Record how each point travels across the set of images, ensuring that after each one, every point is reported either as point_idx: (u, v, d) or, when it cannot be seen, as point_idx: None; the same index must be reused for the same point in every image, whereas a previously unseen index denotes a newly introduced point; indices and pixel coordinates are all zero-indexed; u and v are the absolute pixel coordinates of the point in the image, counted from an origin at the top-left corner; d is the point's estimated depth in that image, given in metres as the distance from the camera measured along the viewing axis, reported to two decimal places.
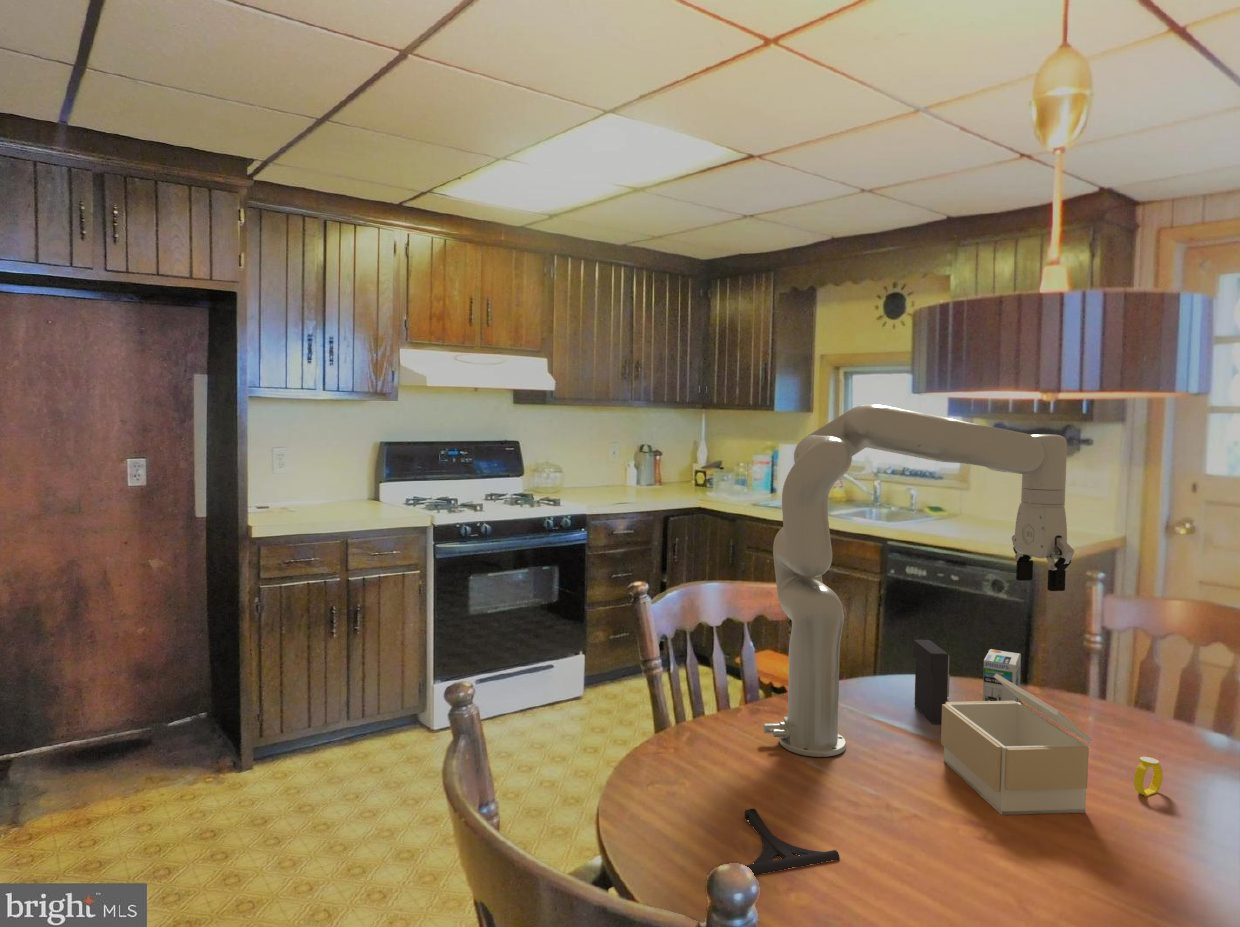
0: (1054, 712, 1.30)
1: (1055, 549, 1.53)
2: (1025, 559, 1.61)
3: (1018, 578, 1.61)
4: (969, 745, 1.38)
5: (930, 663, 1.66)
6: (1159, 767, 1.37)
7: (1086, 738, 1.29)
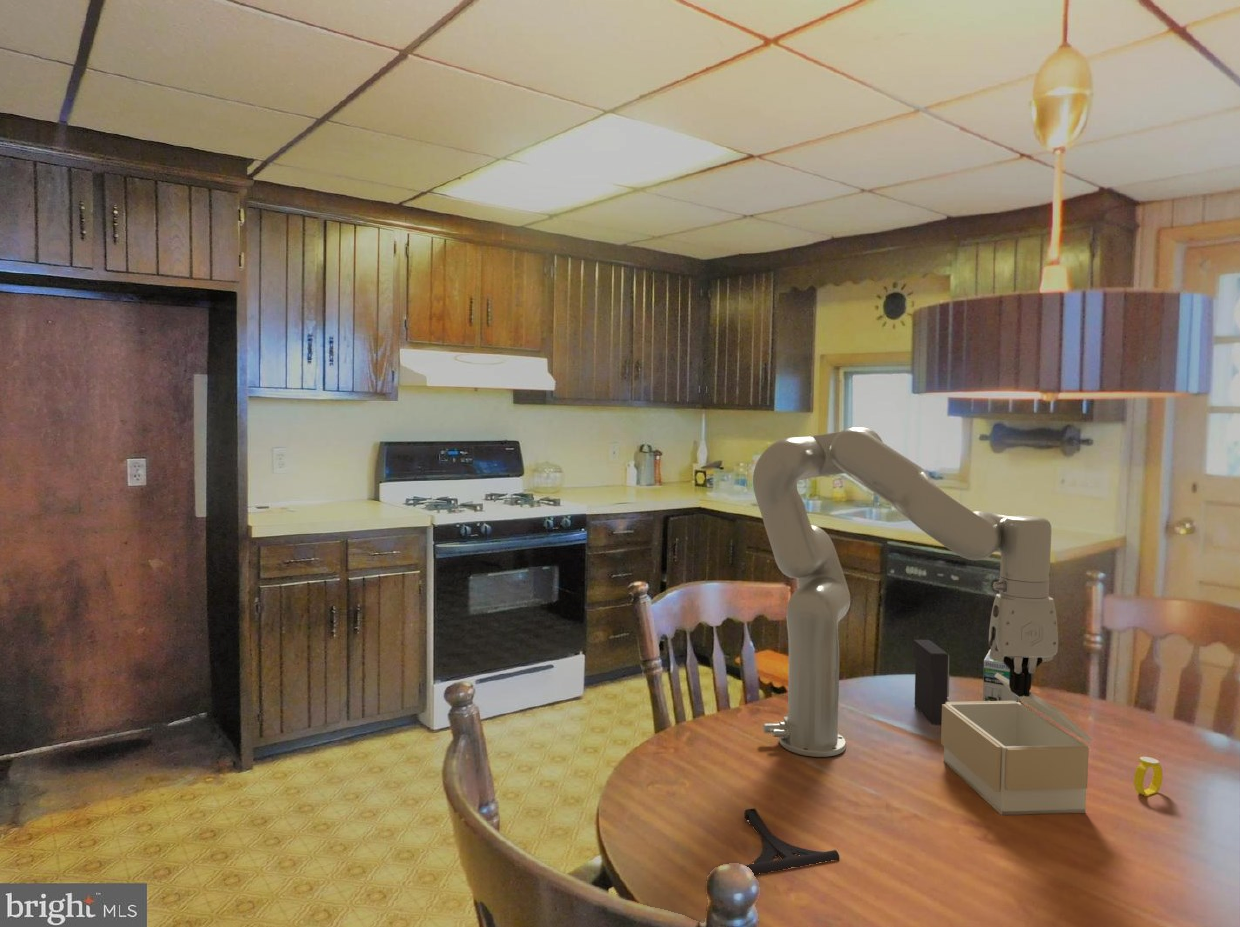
0: (1055, 711, 1.30)
1: None
2: None
3: (1023, 694, 1.37)
4: (969, 745, 1.38)
5: (930, 663, 1.66)
6: (1159, 767, 1.37)
7: (1086, 738, 1.29)
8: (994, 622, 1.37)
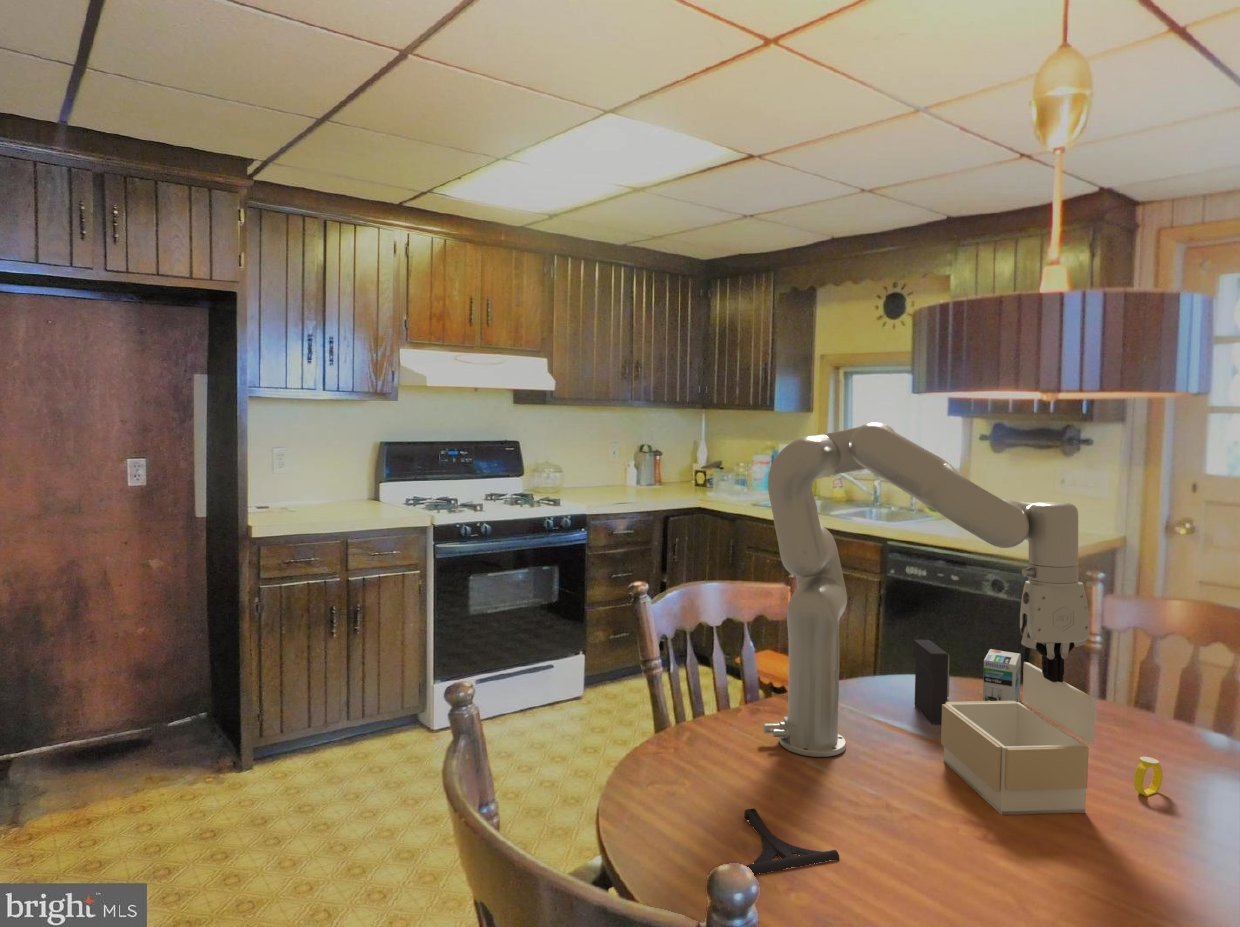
0: (1089, 697, 1.30)
1: None
2: None
3: (1056, 679, 1.37)
4: (969, 745, 1.38)
5: (930, 663, 1.66)
6: (1159, 767, 1.37)
7: (1091, 738, 1.30)
8: (1025, 609, 1.38)
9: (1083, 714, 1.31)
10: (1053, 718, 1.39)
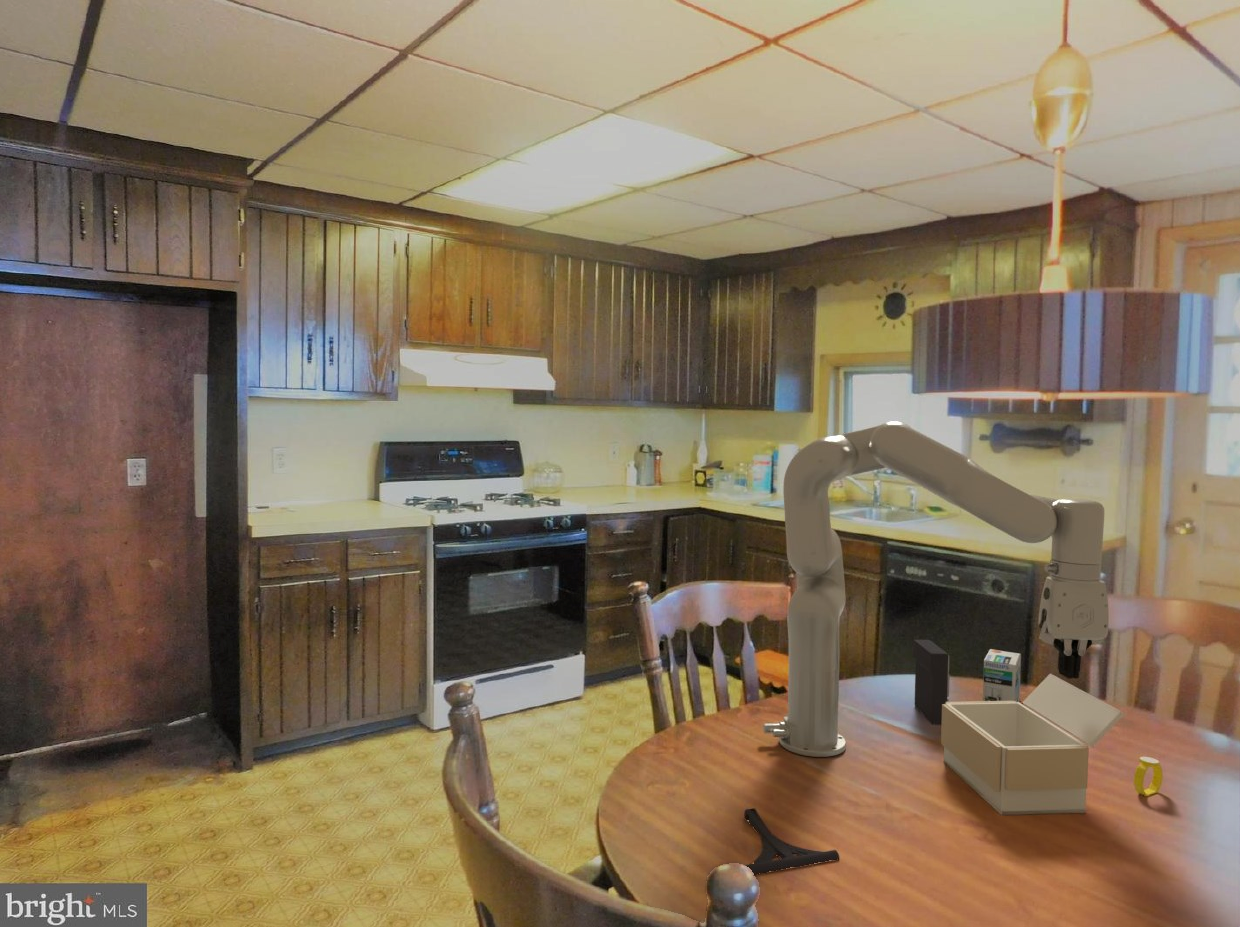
0: (1118, 710, 1.30)
1: None
2: None
3: (1072, 676, 1.38)
4: (969, 745, 1.38)
5: (930, 663, 1.66)
6: (1159, 767, 1.37)
7: (1094, 741, 1.30)
8: (1045, 604, 1.38)
9: (1100, 721, 1.31)
10: (1055, 719, 1.39)
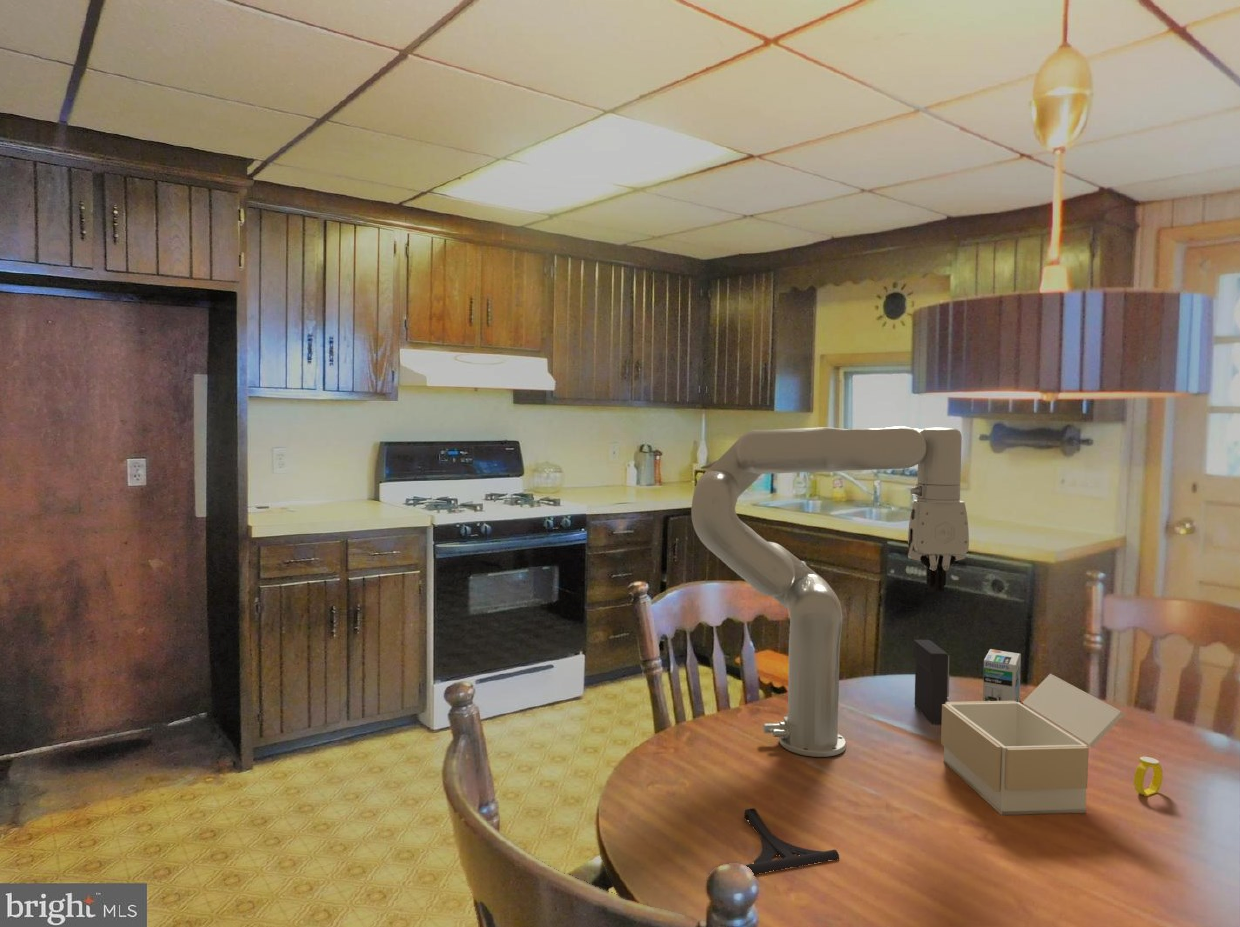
0: (1118, 710, 1.30)
1: None
2: None
3: (938, 589, 1.51)
4: (969, 745, 1.38)
5: (930, 663, 1.66)
6: (1159, 767, 1.37)
7: (1094, 741, 1.30)
8: (911, 524, 1.51)
9: (1100, 721, 1.31)
10: (1055, 719, 1.39)
